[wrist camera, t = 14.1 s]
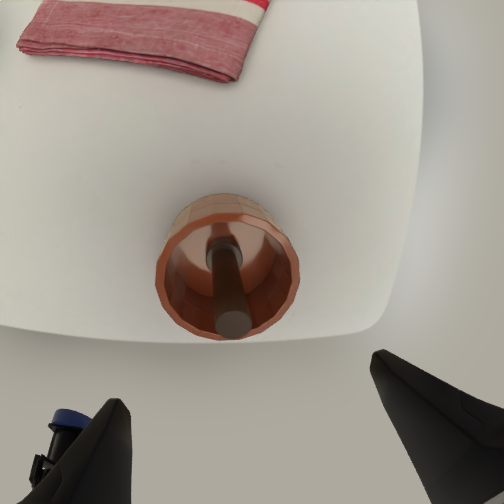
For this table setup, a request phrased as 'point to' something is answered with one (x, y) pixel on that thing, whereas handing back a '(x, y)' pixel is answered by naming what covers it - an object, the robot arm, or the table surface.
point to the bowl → (252, 269)
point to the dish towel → (150, 33)
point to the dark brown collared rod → (228, 288)
